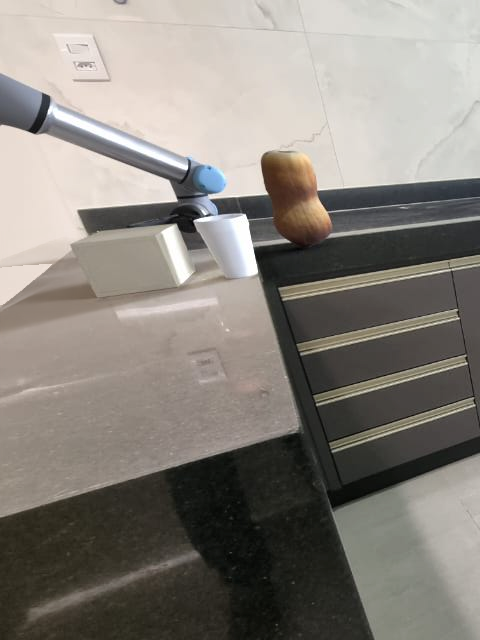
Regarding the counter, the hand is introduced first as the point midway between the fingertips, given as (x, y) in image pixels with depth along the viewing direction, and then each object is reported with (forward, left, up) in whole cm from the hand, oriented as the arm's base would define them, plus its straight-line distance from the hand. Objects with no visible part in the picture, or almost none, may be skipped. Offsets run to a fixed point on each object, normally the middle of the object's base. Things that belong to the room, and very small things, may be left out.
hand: (166, 230), depth 133 cm
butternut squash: (+30, -2, -8) cm, 31 cm away
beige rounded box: (0, -23, -8) cm, 24 cm away
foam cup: (+18, -26, -8) cm, 33 cm away
